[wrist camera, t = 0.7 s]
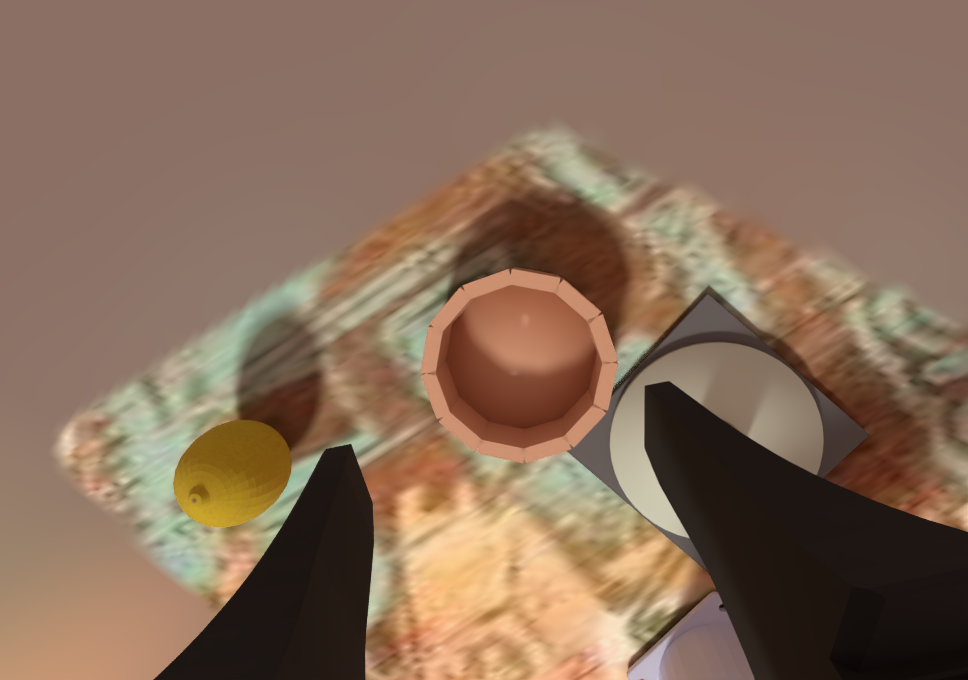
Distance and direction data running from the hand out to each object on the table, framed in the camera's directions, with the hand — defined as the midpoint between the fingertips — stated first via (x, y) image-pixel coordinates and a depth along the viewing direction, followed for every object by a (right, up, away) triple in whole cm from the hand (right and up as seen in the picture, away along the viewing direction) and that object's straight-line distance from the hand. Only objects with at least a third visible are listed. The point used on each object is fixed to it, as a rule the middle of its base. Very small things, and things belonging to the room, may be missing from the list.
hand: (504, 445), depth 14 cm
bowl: (+2, +2, +20) cm, 20 cm away
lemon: (-14, -4, +23) cm, 27 cm away
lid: (+13, -3, +19) cm, 23 cm away
